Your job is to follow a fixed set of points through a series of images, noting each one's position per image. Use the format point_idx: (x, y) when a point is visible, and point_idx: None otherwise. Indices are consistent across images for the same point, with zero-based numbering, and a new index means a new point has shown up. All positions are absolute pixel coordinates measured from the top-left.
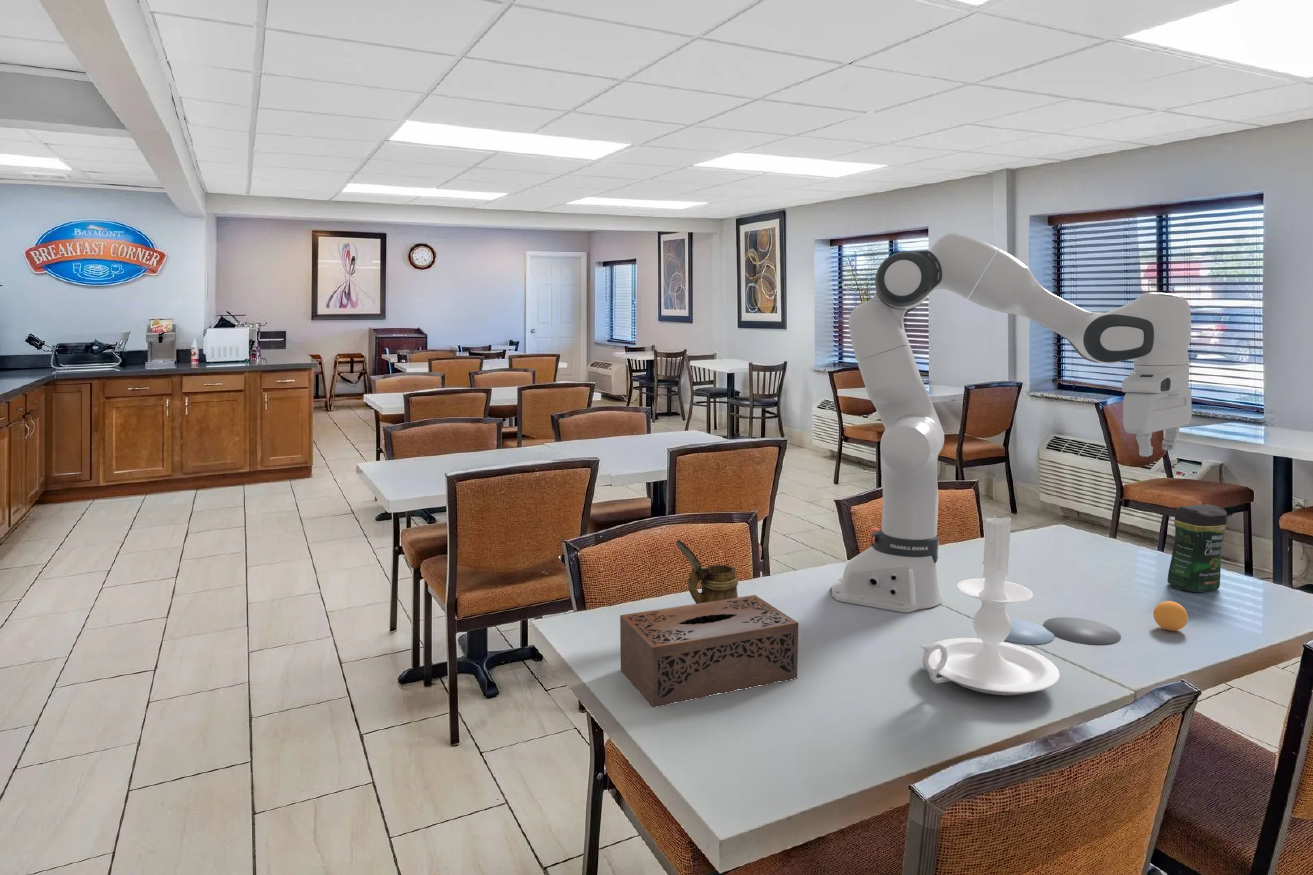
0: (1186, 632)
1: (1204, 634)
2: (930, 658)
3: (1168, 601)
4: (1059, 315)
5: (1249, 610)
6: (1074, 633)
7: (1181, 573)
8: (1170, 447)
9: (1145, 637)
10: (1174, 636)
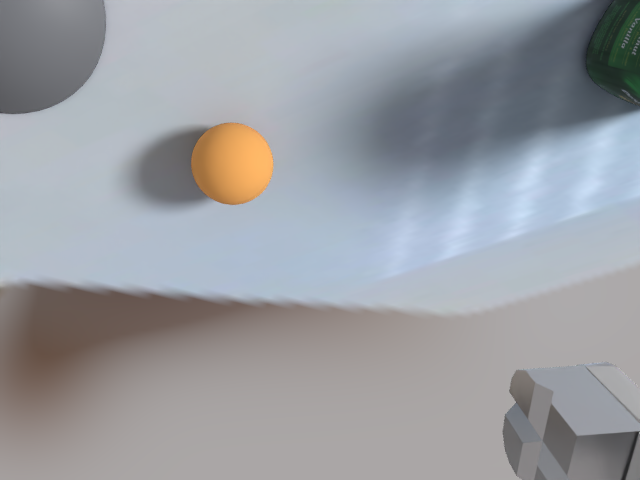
0: None
1: (272, 214)
2: None
3: (231, 167)
4: None
5: (533, 208)
6: None
7: (621, 40)
8: (521, 460)
9: (122, 141)
10: None
